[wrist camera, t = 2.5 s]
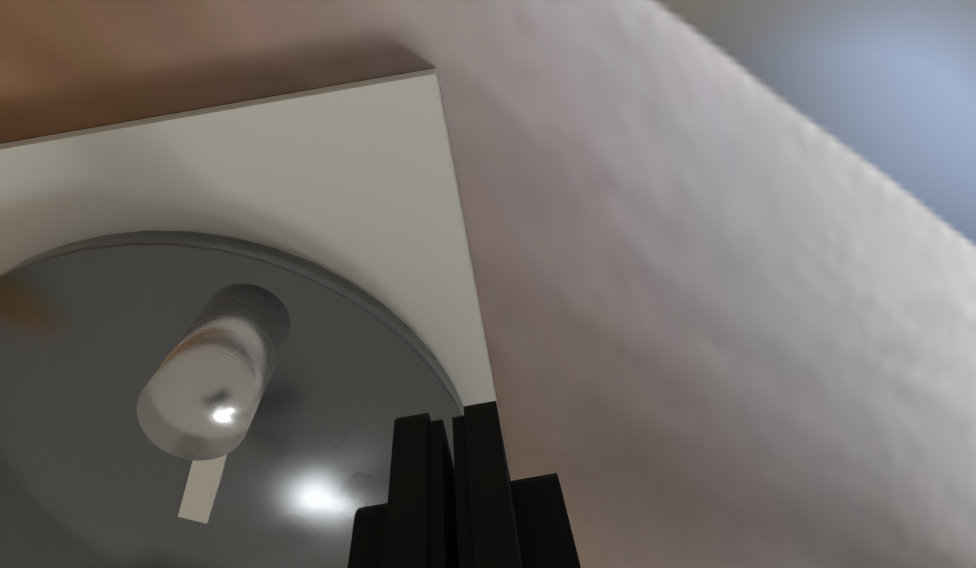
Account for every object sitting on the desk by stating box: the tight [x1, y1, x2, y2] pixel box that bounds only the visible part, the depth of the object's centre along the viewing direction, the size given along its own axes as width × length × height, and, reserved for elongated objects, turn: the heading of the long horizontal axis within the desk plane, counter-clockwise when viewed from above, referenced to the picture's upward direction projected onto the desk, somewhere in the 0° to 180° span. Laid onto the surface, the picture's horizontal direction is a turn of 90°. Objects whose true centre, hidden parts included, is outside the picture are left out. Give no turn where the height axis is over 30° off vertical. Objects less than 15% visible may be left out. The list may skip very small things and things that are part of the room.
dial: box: [0, 231, 464, 568], centre depth 22 cm, size 20×20×6 cm
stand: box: [0, 68, 512, 481], centre depth 24 cm, size 22×24×5 cm
